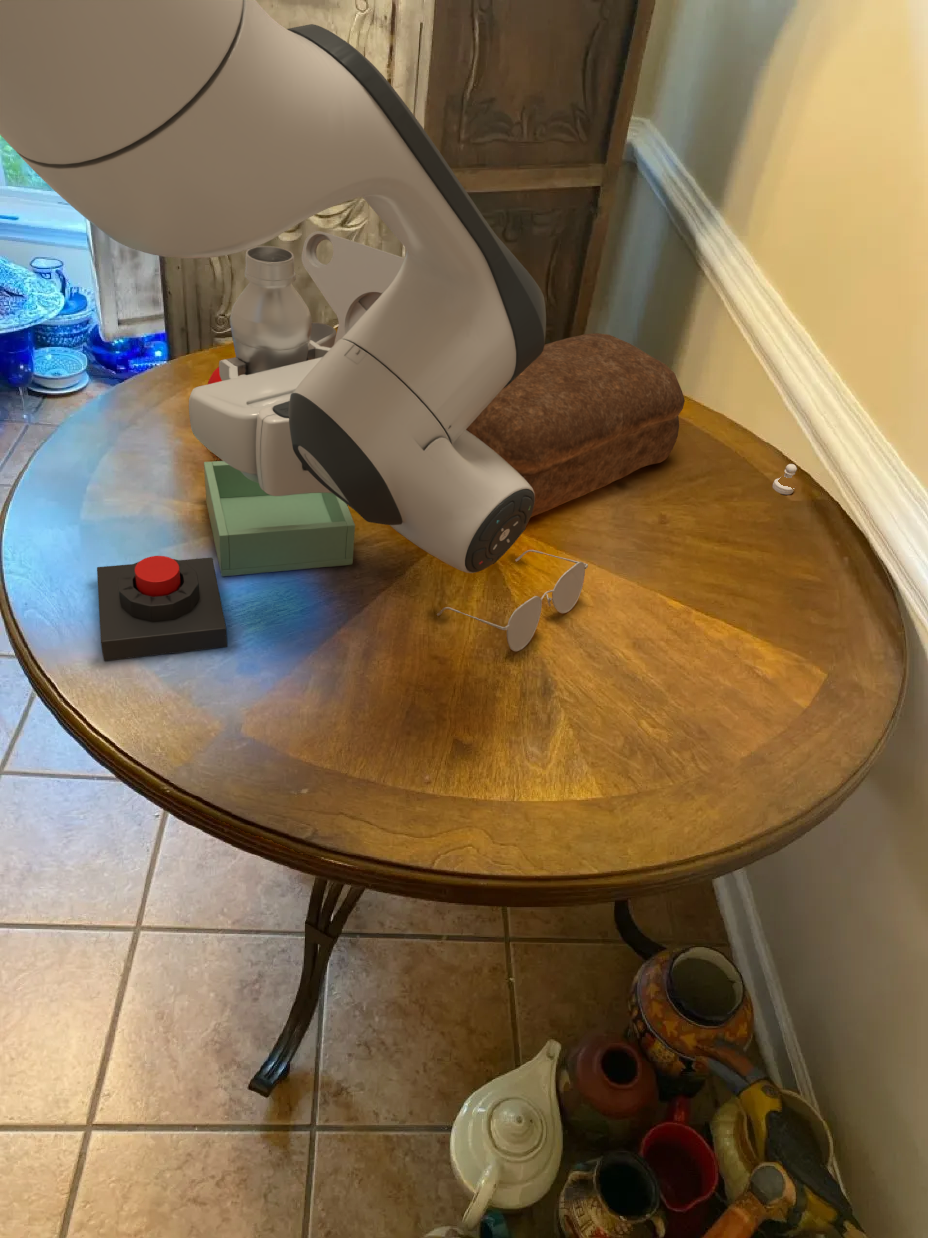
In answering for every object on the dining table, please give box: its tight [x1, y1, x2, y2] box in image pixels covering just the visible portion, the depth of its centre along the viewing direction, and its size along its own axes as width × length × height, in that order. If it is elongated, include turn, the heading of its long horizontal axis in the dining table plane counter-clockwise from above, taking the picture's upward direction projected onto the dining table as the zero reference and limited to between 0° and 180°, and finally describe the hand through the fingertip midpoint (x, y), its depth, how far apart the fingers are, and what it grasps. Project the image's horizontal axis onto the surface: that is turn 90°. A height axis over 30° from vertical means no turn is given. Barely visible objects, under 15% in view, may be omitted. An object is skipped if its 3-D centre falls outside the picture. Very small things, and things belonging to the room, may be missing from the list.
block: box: [96, 557, 228, 662], centre depth 80 cm, size 10×10×4 cm
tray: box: [203, 460, 356, 577], centre depth 91 cm, size 13×13×5 cm
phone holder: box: [301, 230, 405, 348], centre depth 109 cm, size 17×10×18 cm, turn 62°
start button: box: [135, 555, 181, 597], centre depth 78 cm, size 4×4×2 cm
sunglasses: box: [436, 549, 589, 652], centre depth 87 cm, size 14×8×5 cm, turn 141°
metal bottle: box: [229, 245, 313, 483], centre depth 77 cm, size 6×7×20 cm
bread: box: [466, 332, 686, 518], centre depth 106 cm, size 17×30×13 cm, turn 131°
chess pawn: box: [771, 463, 798, 495], centre depth 112 cm, size 3×3×4 cm
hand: (264, 358), depth 77 cm, fingers closed on metal bottle, 6 cm apart
